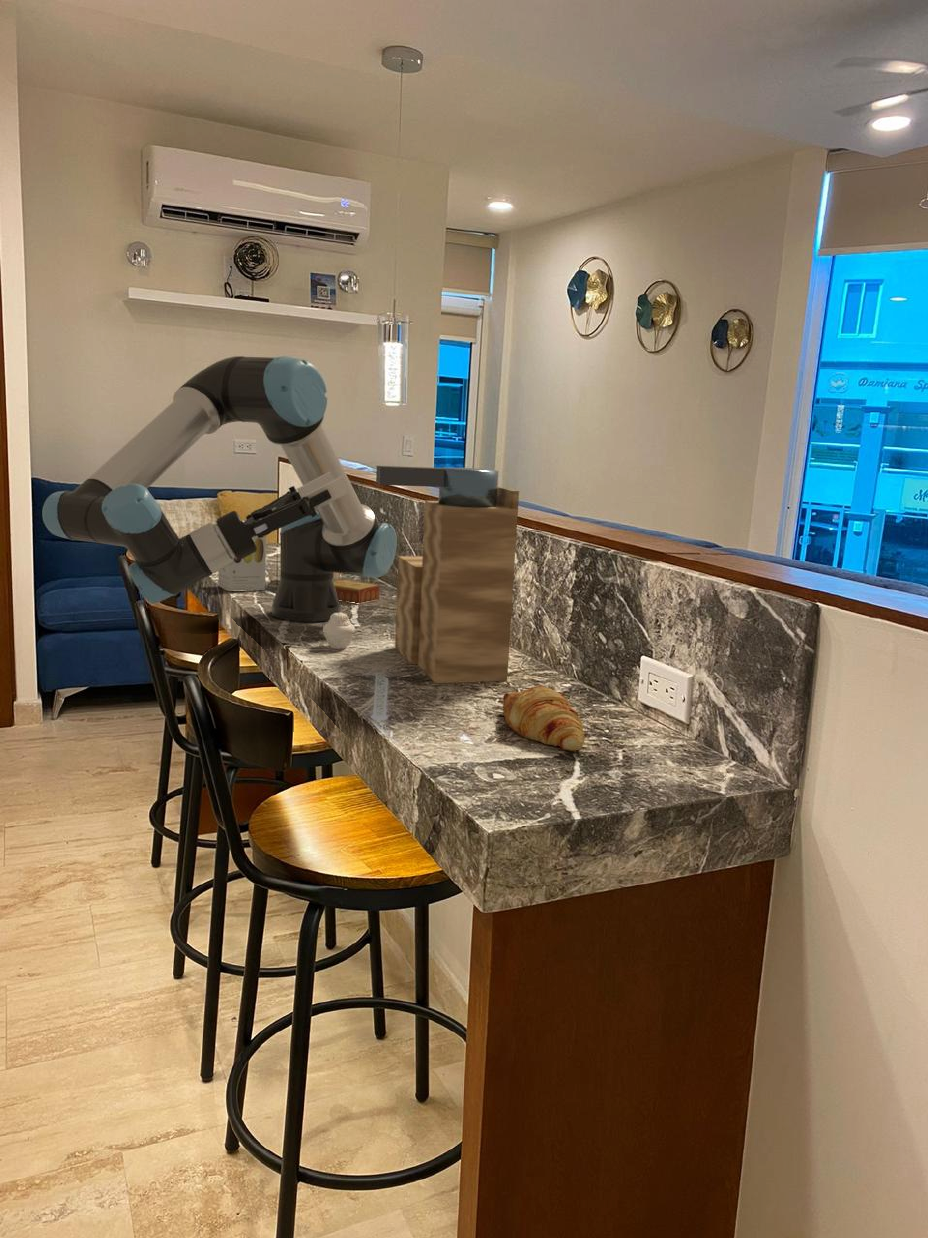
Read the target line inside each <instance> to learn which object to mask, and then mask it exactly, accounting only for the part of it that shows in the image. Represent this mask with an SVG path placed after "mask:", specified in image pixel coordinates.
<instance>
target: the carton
mask: <svg viewBox="0 0 928 1238" xmlns="http://www.w3.org/2000/svg"><path fill="white" fill-rule="evenodd" d="M333 580H334V585H335V589H336V592H337V595H338V599H339V600H342V601H349V602H355V603H361V602H366V601H371V600H375V599H379V600H380V594H381V593H380V592H381V591H380V585H379V584H375V583H374V584H372V583H365V582H359V581H354V580H353V581H352V580H347V579H346V580H345V579H334V578H333Z"/></svg>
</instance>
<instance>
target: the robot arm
mask: <svg viewBox="0 0 928 1238" xmlns="http://www.w3.org/2000/svg"><path fill="white" fill-rule="evenodd" d="M326 393H328V391H327V386H326V383H325V380H324V378H323V375H322V374H321V372H320V371H319V370H318V369H317V367H316V366H315V365H314V364H312V363H311V362H310V361H308V360H305V359H302V358H297V357H292V356H288V355H287V356H286V355H284V356H276V357H272V356H270V357H269V356H268V357H267V356H230V357H227V358H224V359H220V360H218V361H216V362H214V363H212V364H210V365H208V366H206V368H204V369H202V370H201V371H199V372H198V373H196V374H195V375H194V376H192V377H191V378H189V379H188V380H187V381H186V382H184V384H182V385H181V386H180V387H179V388H178V389H176V391H175V392H174V394H173V397H172V402H171V403H170V404H169V405H167V407H165V409H163V410H162V411H161V412H160V413H159V414H158V415H157V416H156V417H154V419H153V420H152V421H150V422H149V423H148V424H147V425H146V426H144V428H142V429H141V430H140V431H139V432H138V433H137V434H135V435H134V437H132V438H131V439H130V440H129V441H127V443H125V445H123V446H122V447H121V448H120V449H119V450H118V451H117V452H116V453H114V454H113V455H112V456H111V457H110V458H109V459H108V460H107V461H106V462H104V464H102V465H101V466H100V467H99V468H98V469H97V470H96V471H94V472H93V473H92V474H91V475H90V476H89V477H88V478H87V479H86V480H85V481H83V482H82V483H81V484H80V485H79V486H77V487H76V488H75V489H74V490H72V491H71V490H63V491H62V490H61V491H59V490H58V491H56V492H53V493H51V494H50V495H49V496H48V497H47V498H46V500H45V501H44V503H43V506H42V514H41V515H42V521H43V524H44V525H45V527H46V528H47V530H48V531H49V532H50V533H51V534H52V535H54V536H57V537H60V538H63V539H66V540H67V539H68V540H69V541H81V542H88V543H90V542H91V543H97V544H105V545H110V546H118V547H123V548H126V550H127V552H129V553H130V555H131V557H132V558H133V560H134V562H132V563H131V564H130V565H129V567H128V572H129V575H130V577H131V580H132V581H133V583H134V585H135V586H136V587H137V589H138V591H139V593H140V594H141V596H142V597H143V598H144V599H145V600H146V602H147V603H150V604H158V603H160V602H162V601H164V600H167V599H168V598H171V597H175V596H177V595H178V594H180V593H181V592H183V591H185V590H186V589H188V588H190V587H191V586H193V585H195V584H197V583H198V582H201V581H202V580H204V579H205V578H207V577H210V576H212V575H213V574H215V573H217V572H218V574H219V573H224V572H225V570H224V568H223V567H227V566H229V565H231V564H233V563H234V560H233V559H234V558H236V557H237V559H240V560H241V559H243V558H245V557H247V556H249V555H250V554H252V553H254V552H256V551H257V547H256V545H255V543H254V541H253V540H252V537H254V536H258V538H262V537H264V536H265V535H266V536H268V535H270V534H271V533H273V532H275V531H277V530H279V529H280V531H279V535H280V544H279V545H280V546H279V547H280V557H279V558H280V560H279V561H280V574H279V576H280V578H279V579H280V580H279V584H278V586H277V589H276V592H275V595H274V598H273V600H272V602H271V603H272V604H271V615H272V616H273V617H275V618H276V619H281V620H284V619H285V621H291V620H292V622H323V621H329V620H330V616H331V615H332V614H334V613H339V612H340V613H342V611H341V607H342V606H341V602H340V601H339V599H338V595H337V592H336V589H335V585H334V580H333V577H334V572H336V573H340V574H341V575H342V574H343V575H348V576H349V575H350V576H355V577H356V576H357V577H361V578H366V579H367V578H373V579H374V578H377V579H378V578H380V577H381V578H382V577H383V576H385V575H386V574H387V573H388V572H389V570H390V569H391V567H392V565H393V562H394V561H395V557H396V553H397V545H398V543H397V542H398V536H397V532H396V530H395V528H394V527H393V525H391V524H388V523H387V522H383V523H381V522H379V521H378V519H377V517H376V514H375V513H374V511H373V510H372V509H371V508H370V507H369V506H368V505H366V504H362V503H361V501H360V499H359V498H358V497H359V496H358V495H357V493H356V491H355V490H354V487H353V485H352V483H351V481H350V479H349V477H348V475H347V474H346V471H345V469H344V467H343V465H342V463H341V461H340V460H339V457H338V455H337V454H336V451H335V449H334V447H333V446H332V443H331V441H330V439H329V437H328V434H327V433H326V431H325V429H324V427H323V425H322V424H323V422H324V420H325V413H326V410H327V405H328V397H327V396H326ZM237 422H242V423H256V424H258V425H259V426H260V428H261V430H262V432H263V433H264V435H265V437H266V438H267V441H269V442H270V443H272V444H275V445H277V446H280V447H281V448H282V450H283V453H284V454H285V455H286V457H287V459H288V462H289V463H290V465H291V467H292V468H293V470H294V472H295V474H296V475H297V477H298V479H299V482H300V483H301V486H299V487H297V488H296V487H295V486H294V485H293V486H290V487H289V488H288V490H289V491H287V492H286V493H285V494H283V495H281V496H279V497H278V498H276V499H274V500H272V501H271V502H269V503H268V504H266V505H263V506H262V507H261V508H258V509H255V510H253V511H252V512H250V514H247V515H246V516H245V519H246V520H242V518H241V517H240V515H239V514H238V512H237V511H236V510H232V511H229V512H228V513H226V514H225V515H222V516H221V517H219V518H217V519H216V522H215V524H214V523H213V522H208V523H206V524H204V525H202V526H201V527H198V528H197V529H194V530H193V531H191V532H189V533H188V534H186V535H183V536H182V537H179V536H178V534H177V532H175V530H174V528H173V527H172V525H171V523H170V522H169V519H168V518H167V516H166V514H165V513H164V511H163V510H162V508H161V506H160V503H159V502H158V501H157V500H156V499H155V498H154V497H153V495H152V494H151V493H150V491H149V490H148V488H150V487H151V485H152V484H154V483H155V482H156V481H157V480H158V479H159V478H160V477H161V476H162V475H163V474H164V473H165V472H166V471H167V470H168V469H170V468H171V466H173V465H174V464H175V463H176V462H177V461H178V460H179V459H180V458H181V457H182V456H183V455H184V454H185V453H186V452H187V451H188V450H190V448H191V447H193V446H194V444H196V442H198V441H199V440H200V439H201V438H202V436H204V435H211V434H213V433H216V432H217V431H218V430H219V429H220V428H221V427H222V426H224V425H227V424H230V423H237ZM315 510H317V511H315ZM242 521H244V522H242Z"/></svg>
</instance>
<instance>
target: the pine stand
mask: <svg viewBox="0 0 928 1238" xmlns="http://www.w3.org/2000/svg"><path fill="white" fill-rule="evenodd" d="M519 499H520V491H519V490H517V489H512V488H507V487H502V486H500V485H499V486H498V487H497V504H496V507H489V508H474V507H457V506H447V505H442V504H439V503H438V501H439V500H424V515H423V517H424V519H423V537H422V538H423V541H422V556H421V555H419V556H417V555H416V556H414V555H413V556H411V555H410V556H409V555H408V556H406V555H403V556H402V555H398V557H397V559H398V562H397V564H398V565H397V589H396V613H395V614H396V616H395V617H396V619H395V635H394V636H395V642H394V648H395V649H396V650H397V649H398V650H397V651H398V652H399V653H400V654H401V655H402V656H403V657H404V658H405V660H407V661H408V662H409V663H410V664H411V665H417V666H418V667H419V668H420V669H421V670H422V671H423V672H424V673H425V674H426V675H427V676H428V677H429V678H430V680H432V681H433V682H434V683H435V684H448V683H449V684H450V683H475V682H476V683H478V682H479V681H480V682H481V681H482V682H483V681H484V682H505V681H508V676H509V675H508V674H509V660H510V659H509V656H510V644H511V643H510V641H511V626H512V622H511V621H512V610H513V609H512V608H513V607H512V606H513V594H514V592H513V591H514V581H515V579H514V578H515V577H514V576H515V566H516V565H515V563H516V562H515V561H516V545H517V531H518V530H517V529H518V528H517V527H518V514H519V502H520V500H519ZM480 682H479V683H480Z"/></svg>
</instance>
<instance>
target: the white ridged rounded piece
mask: <svg viewBox="0 0 928 1238" xmlns="http://www.w3.org/2000/svg"><path fill="white" fill-rule="evenodd" d="M322 631H323V634H324V638H325V639H326V642H327V643H328V645H329V647H330V648H331V649H334V650H343V649H344V650H345V649H347V648H348V646H349V644H350V642H351V641H352V639H353V637H354V634H355V631H356V628H355V626H354V625H353V624H352V623H351V621H350V619H349V616H348V615H347V613H344V612H341V613H340V612H339V613H334V614H332V615H331V616H330V620H327V623H326V624H324V625H323V628H322Z"/></svg>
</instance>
